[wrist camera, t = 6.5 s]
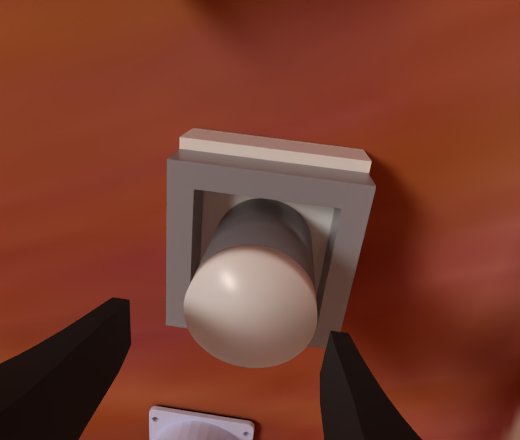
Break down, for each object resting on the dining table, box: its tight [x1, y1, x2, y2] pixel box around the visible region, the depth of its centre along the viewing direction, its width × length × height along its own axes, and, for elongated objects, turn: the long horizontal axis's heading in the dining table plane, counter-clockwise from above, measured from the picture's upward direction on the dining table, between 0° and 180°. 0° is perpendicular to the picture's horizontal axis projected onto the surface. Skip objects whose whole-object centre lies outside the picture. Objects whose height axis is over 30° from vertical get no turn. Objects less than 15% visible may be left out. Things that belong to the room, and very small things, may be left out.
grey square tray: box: [166, 128, 376, 349], centre depth 20 cm, size 10×9×4 cm
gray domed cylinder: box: [184, 198, 317, 368], centre depth 17 cm, size 5×5×6 cm
